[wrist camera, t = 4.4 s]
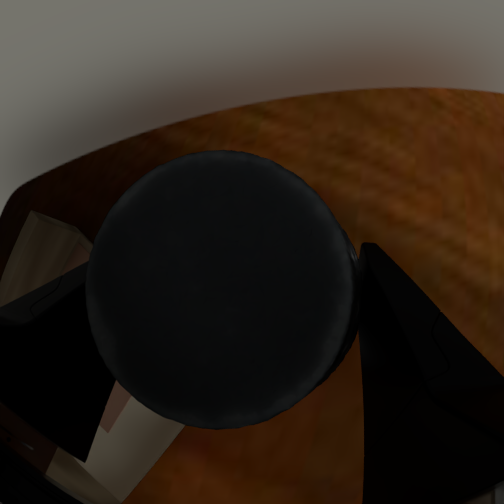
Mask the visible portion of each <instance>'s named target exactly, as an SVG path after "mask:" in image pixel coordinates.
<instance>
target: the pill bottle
mask: <svg viewBox="0 0 504 504" xmlns="http://www.w3.org/2000/svg"><path fill="white" fill-rule="evenodd" d="M85 297H86V308H87V314H88V320H89V324H90V327H91V333H92V336H93V338H94V341H95V343H96V346H97V348H98V351H99V354H100V356H101V357H102V358H103V360H104V362H105V365H106V366H107V368H108V369H109V370H110V372H111V374H112V375H113V377H114V378H115V379H116V380H117V381H118V383H119V384H120V385H121V386H122V387H123V388H124V389H125V390H126V391H127V392H129V393H130V395H131V396H133V397H134V398H135V399H136V400H137V401H138V402H140V403H142V404H143V405H144V406H145V407H147V408H148V409H150V410H151V411H153V412H155V413H156V414H158V415H160V416H162V417H164V418H166V419H170V420H174V421H176V422H179V423H181V424H183V425H187V426H193V427H198V428H207V429H215V430H219V429H232V428H241V427H244V426H248V425H255V424H258V423H261V422H264V421H268V420H269V419H271V418H273V417H275V416H276V415H278V414H280V413H281V412H284V411H286V410H288V409H290V408H291V407H293V406H294V405H295V404H296V403H298V402H299V401H300V400H302V399H303V398H304V397H306V396H307V395H308V394H309V393H311V392H312V391H313V390H314V389H315V388H316V387H317V386H319V385H321V384H322V383H323V382H324V381H325V380H326V379H328V378H329V376H330V375H331V373H332V372H334V371H335V370H336V368H337V367H338V366H339V364H340V363H341V362H342V361H343V359H344V357H345V355H346V354H347V352H348V351H349V349H350V348H351V346H352V343H353V342H354V340H355V337H356V334H357V331H358V326H359V323H360V320H361V313H362V308H363V299H364V294H363V281H362V272H361V270H360V264H359V259H358V257H357V254H356V252H355V249H354V246H353V245H352V243H351V242H350V240H349V238H348V236H347V233H346V232H345V231H344V230H343V229H342V227H341V226H340V224H339V223H338V222H337V220H336V219H335V217H334V216H333V214H332V212H331V211H330V209H329V208H328V206H327V205H326V204H325V202H324V201H323V200H322V199H321V198H320V196H319V195H318V194H317V193H316V192H315V191H314V190H313V189H312V188H311V187H310V186H309V185H307V183H306V182H305V181H304V180H303V179H302V178H300V177H299V176H297V175H296V174H294V173H293V172H291V171H289V170H287V169H285V168H283V167H282V166H281V165H279V164H277V163H275V162H274V161H272V160H270V159H266V158H262V157H259V156H257V155H254V154H250V153H245V152H237V151H232V150H231V151H226V150H218V151H204V152H198V153H191V154H187V155H185V156H182V157H179V158H176V159H173V160H171V161H169V162H167V163H165V164H162V165H159V166H157V167H156V168H154V169H153V170H152V171H150V172H148V173H147V174H145V175H144V176H142V177H141V178H140V179H139V180H138V181H136V182H135V183H134V184H133V185H132V186H131V187H130V188H129V189H127V190H126V191H125V192H124V194H123V195H122V196H121V197H120V198H119V200H118V201H117V202H116V203H115V204H114V205H113V207H112V208H111V209H110V211H109V212H108V214H107V216H106V218H105V220H104V222H103V224H102V226H101V228H100V229H99V232H98V234H97V235H96V237H95V240H94V244H93V248H92V250H91V252H90V256H89V263H88V267H87V273H86V283H85Z"/></svg>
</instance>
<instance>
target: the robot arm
mask: <svg viewBox="0 0 504 504" xmlns="http://www.w3.org/2000/svg"><path fill="white" fill-rule="evenodd" d="M88 263H89V261H87V262H85V263H83V264H81V265H79V266H77V267H75V268H74V269H72V270H70V271H68V272H66V273H64V275H61V276H59V277H57V278H55V279H53V280H52V281H50V282H48V283H46V284H44V285H42V286H40V287H39V288H37V289H35V290H33V291H31V292H29V293H27V294H25V295H23V296H21V297H19V298H17V299H15V300H13V301H11V302H9V303H7V304H5V305H4V306H1V307H0V504H93V503H91V502H89V501H88V500H86V499H84V498H82V497H81V496H79V495H77V494H76V493H74V492H72V491H71V490H69V489H67V488H66V487H64V486H63V485H61V484H60V483H58V482H57V481H55V480H54V479H52V478H51V477H49V476H48V475H46V472H47V470H48V468H49V466H50V463H51V461H52V459H53V457H54V455H55V453H56V451H57V449H58V448H59V449H61V450H63V451H64V452H66V453H68V454H69V455H71V456H73V457H75V458H76V459H78V460H80V461H82V462H84V463H85V462H86V460H87V458H88V455H89V452H90V449H91V446H92V443H93V441H94V438H95V435H96V432H97V429H98V427H99V424H100V421H101V418H102V416H103V413H104V411H105V408H106V407H105V406H106V405H107V402H108V400H109V397H110V395H111V392H112V389H113V387H114V384H115V382H116V379H115V378H114V377H113V375H112V374H111V372H110V370H109V369H108V368H107V366H106V365H105V362H104V360H103V358H102V357H101V356H100V354H99V351H98V348H97V346H96V343H95V341H94V338H93V336H92V333H91V327H90V324H89V320H88V314H87V308H86V297H85V283H86V273H87V267H88ZM359 264H360V270H361V272H362V281H363V294H364V299H363V308H362V313H361V320H360V323H359V326H358V332H359V343H360V355H361V368H362V384H363V406H364V455H365V456H364V480H363V501H362V504H504V377H503V376H502V375H501V374H500V373H499V372H498V371H497V370H496V369H495V368H494V367H493V365H492V364H491V363H490V362H489V361H488V360H487V359H486V358H485V357H484V356H483V355H482V354H481V353H480V352H479V351H478V350H477V349H476V348H475V347H474V346H473V345H472V344H471V343H470V342H469V341H468V340H467V339H466V338H465V337H464V336H463V335H462V334H461V333H460V332H459V330H458V329H457V328H456V327H455V326H454V325H453V324H452V323H451V322H450V321H449V319H448V318H447V317H446V316H445V315H444V314H443V313H442V312H440V309H439V308H438V307H437V306H436V305H435V304H434V303H433V302H432V300H431V299H430V298H429V297H428V296H427V295H426V294H425V293H424V292H423V291H422V290H421V289H420V288H419V286H418V285H417V284H416V283H415V282H414V281H413V280H412V279H411V278H410V277H409V276H408V275H407V274H406V273H405V272H404V271H403V270H402V269H401V268H400V267H399V266H398V265H397V264H396V263H395V262H394V261H393V260H392V259H391V258H390V257H389V256H388V255H387V254H386V253H385V252H384V251H383V250H382V249H381V248H380V247H379V246H378V245H377V244H376V243H367V242H363V243H362V245H361V249H360V255H359Z"/></svg>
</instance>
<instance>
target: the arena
mask: <svg viewBox="0 0 504 504" xmlns="http://www.w3.org/2000/svg"><path fill="white" fill-rule="evenodd" d="M92 248H93V244H92V243H91V242H90V241H89V240H88V239H87V238H86V237H85V236H84V235H83V234H82V233H81V232H80V231H79V229H78V228H77V227H75V226H72V225H70V224H67V223H64V222H62V221H59V220H56V219H54V218H51V217H48V216H46V215H43V214H41V213H38V212H35V211H33V210H31V212H30V214H29V216H28V218H27V220H26V222H25V224H24V226H23V228H22V230H21V232H20V234H19V237H18V239H17V241H16V243H15V246H14V248H13V250H12V253H11V255H10V257H9V260H8V262H7V265H6V268H5V270H4V273H3V275H2V278H1V281H0V307H1V306H4V305H5V304H7V303H9V302H11V301H13V300H15V299H17V298H19V297H21V296H23V295H25V294H27V293H29V292H31V291H33V290H35V289H37V288H39V287H40V286H42V285H44V284H46V283H48V282H50V281H52V280H53V279H55V278H57V277H59V276H61V275H64V273H66V272H68V271H70V270H72V269H74V268H75V267H77V266H79V265H81V264H83V263H85V262H87V261H89V256H90V252H91V250H92ZM105 407H106V408H105V411H104V413H103V416H102V418H101V421H100V424H99V427H98V429H97V432H96V435H95V438H94V441H93V443H92V446H91V449H90V452H89V455H88V458H87V460H86V462H85V463H84V462H82V461H80V460H78V459H76V458H75V457H73V456H71V455H69V454H68V453H66V452H64V451H63V450H61V449H59V448H58V449H57V451H56V453H55V455H54V457H53V459H52V461H51V463H50V466H49V468H48V470H47V472H46V475H48V476H49V477H51V478H52V479H54V480H55V481H57V482H58V483H60V484H61V485H63V486H64V487H66V488H67V489H69V490H71V491H72V492H74V493H76V494H77V495H79V496H81V497H82V498H84V499H86V500H88V501H89V502H91V503H93V504H121V503H122V502H123V501H124V500H125V498H126V497H127V496H128V495H129V494H130V493H131V491H132V490H133V489H134V488H135V487H136V485H137V484H138V483H139V482H140V481H141V480H142V478H143V477H144V476H145V475H146V474H147V472H148V471H149V470H150V469H151V467H152V466H153V465H154V464H155V463H156V461H157V460H158V459H159V458H160V456H161V455H162V454H163V453H164V451H165V450H166V449H167V448H168V446H169V445H170V444H171V443H172V441H173V440H174V439H175V438H176V436H177V435H178V434H179V433H180V431H181V430H182V429H183V427H184V426H185V425H183V424H181V423H179V422H176V421H174V420H170V419H166V418H164V417H162V416H160V415H158V414H156V413H155V412H153V411H151V410H150V409H148V408H147V407H145V406H144V405H143V404H142V403H140V402H138V401H137V400H136V399H135V398H134V397H133V396H131V395H130V393H129V392H127V391H126V390H125V389H124V388H123V387H122V386H121V385H120V384H119V383H118V381H117V380H116V382H115V384H114V387H113V389H112V392H111V395H110V397H109V400H108V402H107V405H106V406H105Z"/></svg>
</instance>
